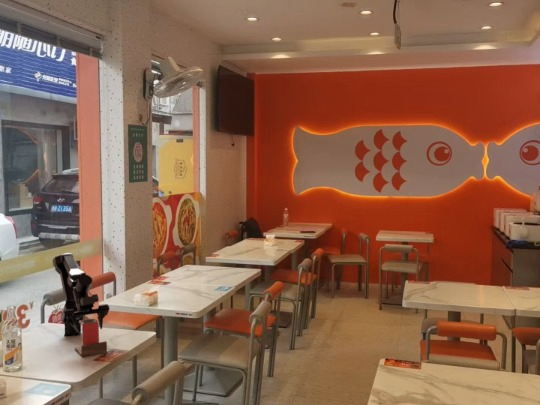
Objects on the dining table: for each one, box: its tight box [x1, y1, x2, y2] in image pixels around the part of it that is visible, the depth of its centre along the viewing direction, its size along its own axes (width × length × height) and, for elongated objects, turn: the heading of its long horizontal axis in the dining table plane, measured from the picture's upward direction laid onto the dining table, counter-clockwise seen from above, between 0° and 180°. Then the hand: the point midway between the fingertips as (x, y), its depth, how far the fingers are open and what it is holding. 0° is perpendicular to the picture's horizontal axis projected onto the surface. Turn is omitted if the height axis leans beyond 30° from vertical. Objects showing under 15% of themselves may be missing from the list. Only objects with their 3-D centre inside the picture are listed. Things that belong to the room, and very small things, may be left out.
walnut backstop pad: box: [74, 340, 108, 358], centre depth 230 cm, size 11×10×4 cm
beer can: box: [81, 318, 100, 346], centre depth 229 cm, size 7×7×12 cm
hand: (90, 330), depth 229 cm, fingers open, 9 cm apart
